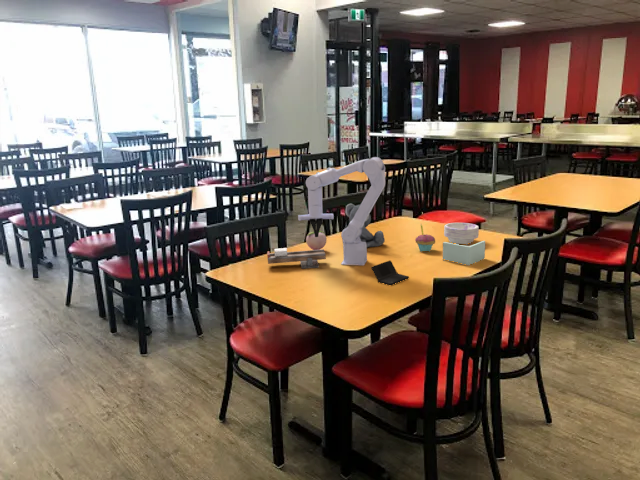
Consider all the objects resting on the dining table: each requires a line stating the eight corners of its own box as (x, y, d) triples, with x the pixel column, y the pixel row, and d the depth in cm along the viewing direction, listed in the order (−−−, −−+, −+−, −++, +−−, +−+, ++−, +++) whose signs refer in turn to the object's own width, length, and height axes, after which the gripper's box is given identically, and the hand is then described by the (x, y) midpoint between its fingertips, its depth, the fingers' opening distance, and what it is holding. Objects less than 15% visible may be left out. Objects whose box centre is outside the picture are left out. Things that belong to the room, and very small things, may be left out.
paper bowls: (482, 240, 238) (482, 223, 236) (472, 248, 226) (473, 230, 224) (450, 237, 246) (450, 220, 244) (439, 244, 234) (439, 227, 232)
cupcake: (413, 252, 222) (413, 225, 220) (417, 247, 230) (417, 221, 227) (433, 253, 219) (433, 226, 216) (436, 248, 227) (437, 222, 224)
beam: (324, 254, 214) (323, 246, 214) (325, 259, 207) (325, 250, 207) (268, 258, 213) (267, 250, 212) (268, 263, 206) (267, 255, 205)
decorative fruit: (315, 255, 224) (314, 232, 222) (303, 251, 230) (302, 230, 228) (331, 250, 230) (330, 229, 228) (319, 247, 236) (318, 226, 234)
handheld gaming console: (395, 282, 181) (382, 258, 183) (381, 291, 185) (368, 267, 187) (411, 278, 190) (398, 254, 192) (397, 287, 194) (384, 264, 196)
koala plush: (387, 245, 236) (387, 203, 231) (356, 252, 226) (355, 208, 221) (363, 238, 250) (362, 198, 245) (333, 245, 240) (332, 203, 235)
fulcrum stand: (316, 260, 216) (316, 251, 215) (319, 267, 206) (318, 258, 205) (300, 261, 216) (299, 252, 215) (301, 268, 206) (301, 259, 205)
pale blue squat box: (484, 258, 209) (485, 241, 207) (469, 265, 201) (469, 247, 200) (458, 253, 218) (459, 236, 216) (442, 260, 210) (443, 242, 208)
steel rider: (287, 254, 212) (286, 247, 211) (287, 257, 207) (286, 250, 207) (275, 255, 211) (274, 248, 210) (275, 258, 207) (274, 251, 206)
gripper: (331, 201, 215) (332, 233, 218) (297, 203, 214) (298, 235, 217) (333, 204, 208) (334, 237, 211) (298, 206, 207) (299, 239, 210)
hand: (316, 236), depth 214 cm, fingers closed
